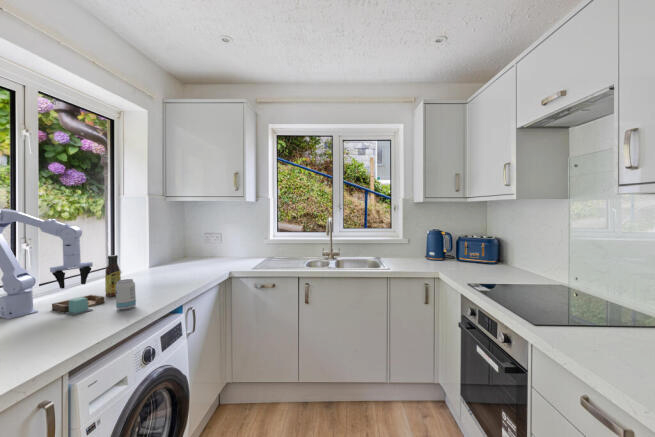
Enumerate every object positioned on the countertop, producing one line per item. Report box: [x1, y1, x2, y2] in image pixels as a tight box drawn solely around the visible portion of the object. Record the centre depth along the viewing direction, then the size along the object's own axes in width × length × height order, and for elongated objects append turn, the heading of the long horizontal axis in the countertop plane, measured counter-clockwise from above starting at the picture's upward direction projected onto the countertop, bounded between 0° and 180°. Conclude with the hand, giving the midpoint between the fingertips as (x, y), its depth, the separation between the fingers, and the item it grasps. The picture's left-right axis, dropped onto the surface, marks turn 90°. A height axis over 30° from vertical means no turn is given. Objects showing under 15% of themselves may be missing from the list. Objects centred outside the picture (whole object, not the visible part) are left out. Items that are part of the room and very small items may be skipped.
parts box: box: [51, 294, 105, 314], centre depth 135 cm, size 15×10×3 cm, turn 155°
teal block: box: [68, 296, 89, 313], centre depth 127 cm, size 4×4×5 cm
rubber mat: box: [63, 308, 94, 317], centre depth 127 cm, size 7×7×1 cm
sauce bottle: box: [104, 254, 122, 297], centre depth 152 cm, size 7×6×20 cm
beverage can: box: [115, 278, 137, 311], centre depth 131 cm, size 7×7×12 cm
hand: (73, 286), depth 132 cm, fingers open, 7 cm apart
